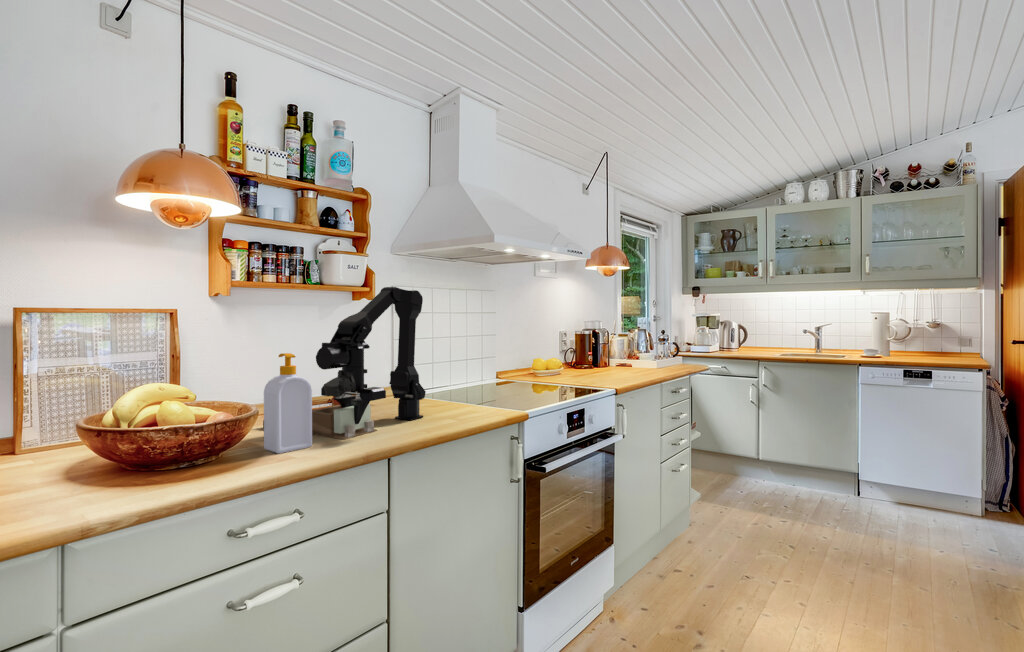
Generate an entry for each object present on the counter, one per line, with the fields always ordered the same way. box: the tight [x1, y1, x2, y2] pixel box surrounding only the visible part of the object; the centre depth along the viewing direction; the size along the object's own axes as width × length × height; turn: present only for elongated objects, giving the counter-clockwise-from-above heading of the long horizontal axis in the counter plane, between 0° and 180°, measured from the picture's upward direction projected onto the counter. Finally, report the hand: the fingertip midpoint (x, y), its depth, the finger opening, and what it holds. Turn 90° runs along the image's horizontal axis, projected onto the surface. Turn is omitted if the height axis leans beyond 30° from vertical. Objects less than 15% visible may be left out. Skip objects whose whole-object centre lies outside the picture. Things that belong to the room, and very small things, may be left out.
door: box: [334, 403, 372, 434], centre depth 144 cm, size 11×2×6 cm, turn 151°
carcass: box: [312, 405, 378, 441], centre depth 146 cm, size 12×14×6 cm
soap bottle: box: [263, 352, 313, 455], centre depth 128 cm, size 9×7×23 cm
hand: (353, 423), depth 144 cm, fingers closed on door, 2 cm apart
